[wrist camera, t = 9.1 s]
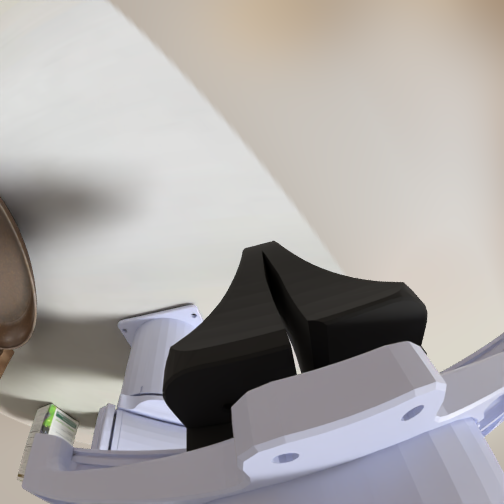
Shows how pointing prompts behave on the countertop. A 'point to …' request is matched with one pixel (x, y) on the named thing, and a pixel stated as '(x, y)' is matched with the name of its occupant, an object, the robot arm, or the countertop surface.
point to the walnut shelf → (5, 359)
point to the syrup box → (48, 430)
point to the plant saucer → (15, 285)
